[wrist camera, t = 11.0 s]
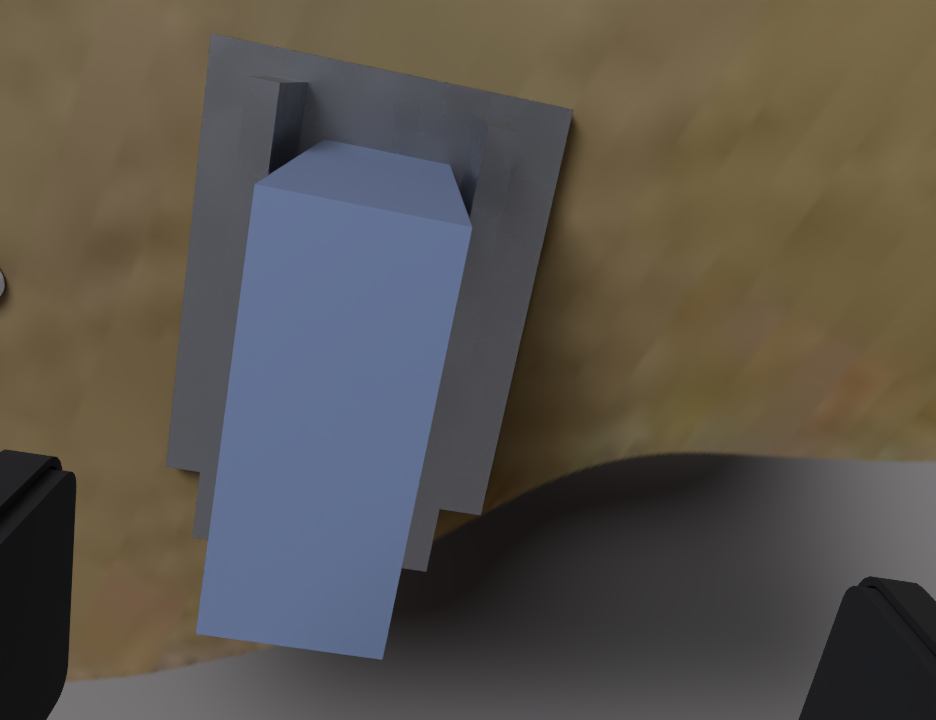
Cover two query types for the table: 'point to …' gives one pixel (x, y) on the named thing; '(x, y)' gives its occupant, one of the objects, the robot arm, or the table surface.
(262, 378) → the book
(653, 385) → the table surface
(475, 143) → the book rack
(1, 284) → the tablet computer
